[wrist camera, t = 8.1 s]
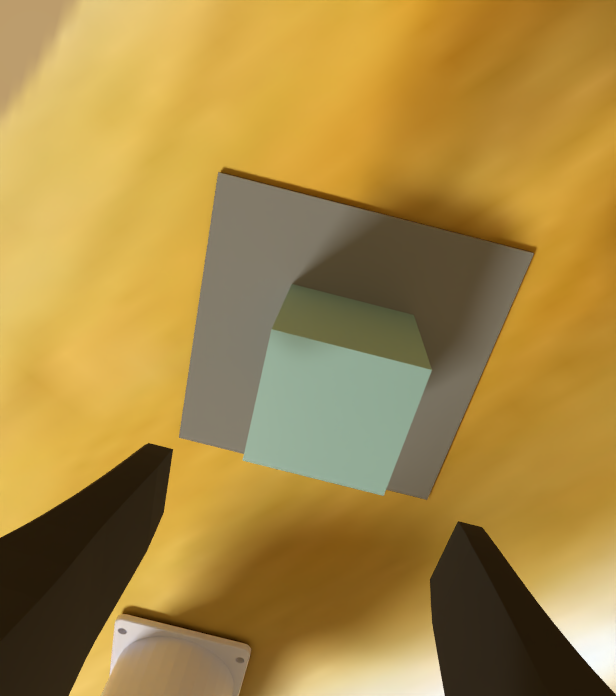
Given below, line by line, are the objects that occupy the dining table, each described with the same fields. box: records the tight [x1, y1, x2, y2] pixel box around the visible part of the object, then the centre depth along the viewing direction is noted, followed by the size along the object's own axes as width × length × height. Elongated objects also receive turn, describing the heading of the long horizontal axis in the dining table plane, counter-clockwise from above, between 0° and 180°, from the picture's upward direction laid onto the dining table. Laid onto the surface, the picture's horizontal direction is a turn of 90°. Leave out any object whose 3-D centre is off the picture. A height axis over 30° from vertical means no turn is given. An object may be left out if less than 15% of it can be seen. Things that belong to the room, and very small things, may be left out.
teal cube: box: [243, 284, 432, 496], centre depth 18 cm, size 5×5×5 cm
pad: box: [179, 172, 534, 500], centre depth 20 cm, size 12×12×1 cm
